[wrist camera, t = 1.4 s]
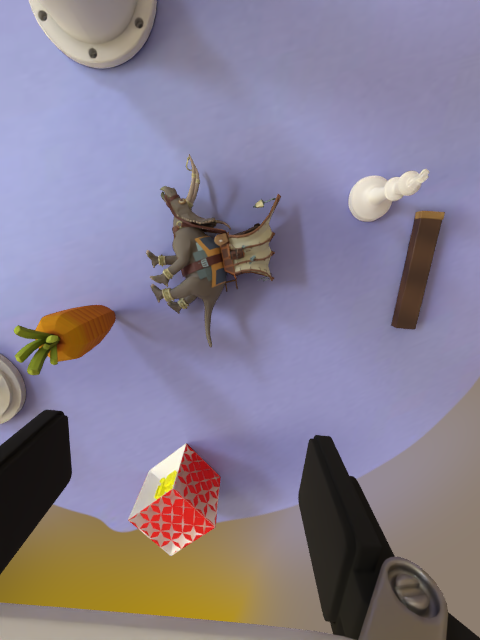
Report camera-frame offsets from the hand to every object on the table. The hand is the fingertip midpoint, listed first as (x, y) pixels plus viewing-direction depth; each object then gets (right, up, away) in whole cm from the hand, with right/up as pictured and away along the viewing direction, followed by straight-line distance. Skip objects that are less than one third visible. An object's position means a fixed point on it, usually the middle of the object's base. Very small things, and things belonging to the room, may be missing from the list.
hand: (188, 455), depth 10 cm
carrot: (-15, +6, +25) cm, 30 cm away
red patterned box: (-7, -19, +32) cm, 37 cm away
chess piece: (+17, +19, +21) cm, 34 cm away
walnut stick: (+24, +11, +23) cm, 35 cm away
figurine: (0, +14, +23) cm, 27 cm away
